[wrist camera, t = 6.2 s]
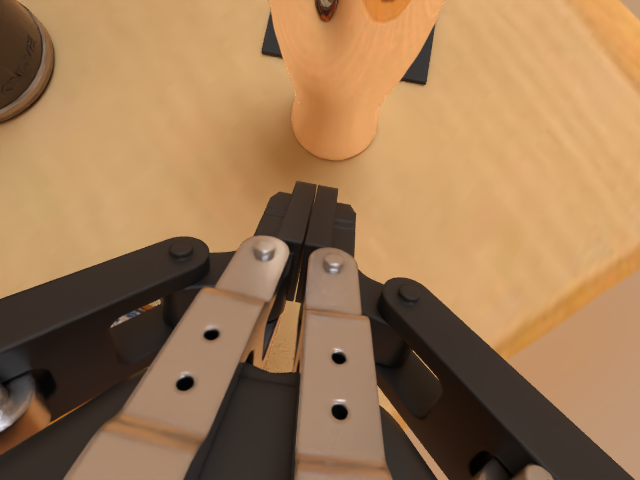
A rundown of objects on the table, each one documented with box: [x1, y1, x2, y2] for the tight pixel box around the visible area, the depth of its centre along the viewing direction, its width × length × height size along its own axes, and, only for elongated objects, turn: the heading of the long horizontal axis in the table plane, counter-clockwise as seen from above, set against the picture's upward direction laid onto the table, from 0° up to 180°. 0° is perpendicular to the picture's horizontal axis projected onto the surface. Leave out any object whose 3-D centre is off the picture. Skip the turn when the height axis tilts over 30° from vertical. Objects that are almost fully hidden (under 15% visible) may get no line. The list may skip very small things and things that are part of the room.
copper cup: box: [269, 0, 445, 160], centre depth 17 cm, size 7×7×15 cm
